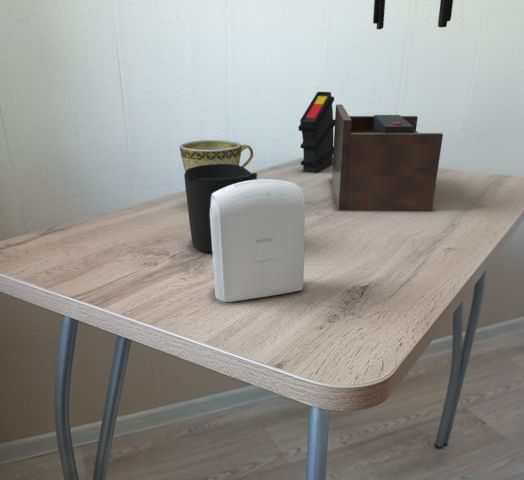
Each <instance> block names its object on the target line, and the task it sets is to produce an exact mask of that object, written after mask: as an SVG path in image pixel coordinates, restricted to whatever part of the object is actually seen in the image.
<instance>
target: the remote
mask: <svg viewBox="0 0 524 480" xmlns="http://www.w3.org/2000/svg"><path fill="white" fill-rule="evenodd" d="M373 116H374V126H373V133H413V129H414V126H412V125H411V124H410V123H409V122H407V121H406V120H405V119H404V118H402V117H401V116H402V115H400V114H374V115H373Z"/></svg>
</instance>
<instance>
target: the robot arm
mask: <svg viewBox="0 0 524 480" xmlns="http://www.w3.org/2000/svg"><path fill="white" fill-rule="evenodd" d="M453 5H454V0H440V3H439V12H438V19H437V20H438V21H437V27H438V28H446V27H447V26H448V22H451V19H452V13H453ZM385 10H386V0H374V1H373V13H372V14H373V15H372V24H376V30H382V29H384V27H385V26H384V24H385Z"/></svg>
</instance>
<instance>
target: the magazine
mask: <svg viewBox="0 0 524 480" xmlns="http://www.w3.org/2000/svg"><path fill="white" fill-rule="evenodd" d="M334 102H335V96H332V92H331V91H317V92H316V93H315V95H314V96H313V98H312V100H311V102H310V104H309V105H308V107H307V108H306V110H305V111H304V113H303V114H302V116H301V118H300V119H299V122H300V123H299V125H298V126H297V127H298V128H297V129H298V131H299V132H301V135H302V143H301V144H300V149H303V151H302V152H303V160H302V161H300V166H303V167H302V169H303V173H311V174H313V173H314V174H317V173H319V172H321V171H322V170H324V169H326V168H328V167H330V166H332V165H333V149H334V128H335V119H334V109H333V103H334Z"/></svg>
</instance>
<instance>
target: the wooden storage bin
mask: <svg viewBox="0 0 524 480" xmlns="http://www.w3.org/2000/svg"><path fill="white" fill-rule="evenodd" d="M400 116H401V117H402V118H404V119H405V120H406V121H407V122H409V123H410V124H411V125H412V126H414V129H413V133H373V126H374V115H349V113H348V111H347V110H346V108H345V107H344V105H343V104H341V103H340V104H335V115H334V120H335V126H334V130H333V147H334V149H333V163H332V169H331V171H332V172H331V182H332V187H333V193H334V197H335V201H336V202H335V203H336V206H337V211H341V212H342V211H343V212H345V211H348V212H349V211H351V212H354V211H355V212H432V211H433V206H434V199H435V191H436V187H437V186H436V185H437V179H438V171H439V167H440V166H439V165H440V159H441V153H442V152H441V150H442V143H443V138H444V134H443V132H418V131H417V127H418V125H417V124H418V116H417V115H400Z"/></svg>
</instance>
